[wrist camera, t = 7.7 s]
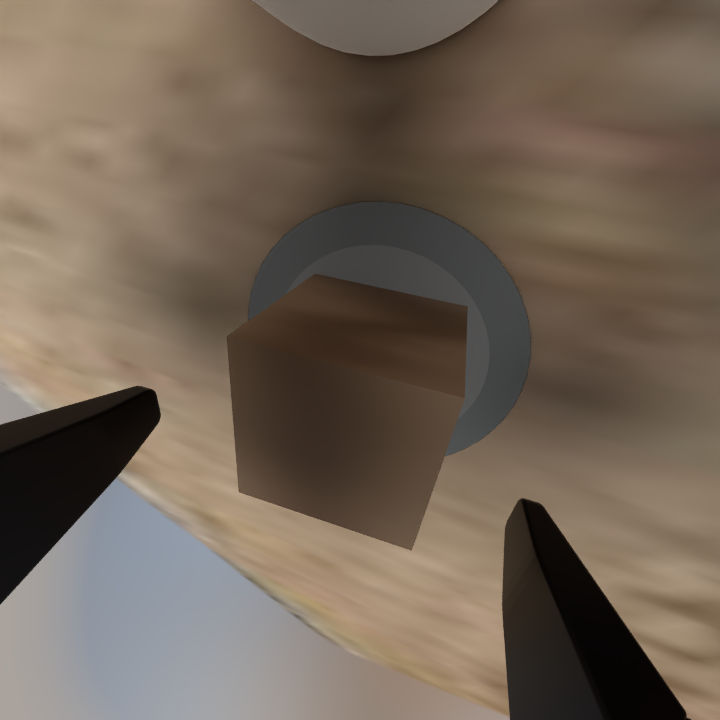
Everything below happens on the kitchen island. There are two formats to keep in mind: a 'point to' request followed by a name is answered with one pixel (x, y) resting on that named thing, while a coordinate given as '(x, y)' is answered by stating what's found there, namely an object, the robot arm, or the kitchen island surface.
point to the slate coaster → (417, 290)
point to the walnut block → (348, 403)
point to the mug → (376, 22)
